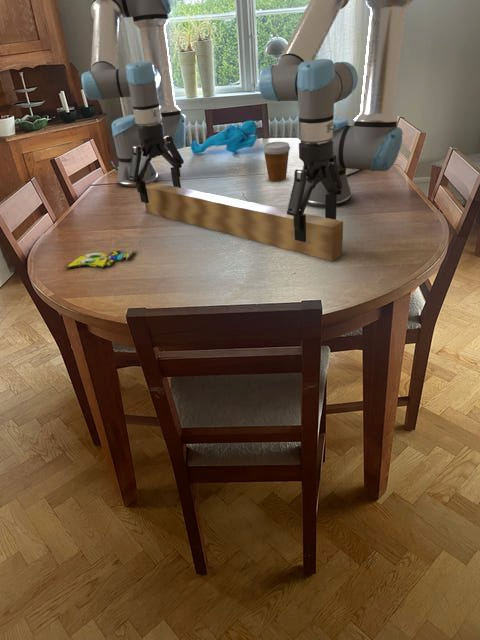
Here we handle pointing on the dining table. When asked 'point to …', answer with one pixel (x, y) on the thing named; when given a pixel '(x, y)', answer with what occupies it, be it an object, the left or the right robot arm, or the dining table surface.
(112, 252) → the toy
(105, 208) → the dining table surface
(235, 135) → the toy
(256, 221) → the post
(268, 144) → the disposable coffee cup
